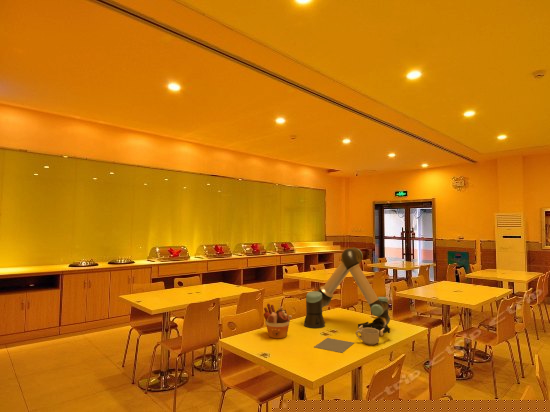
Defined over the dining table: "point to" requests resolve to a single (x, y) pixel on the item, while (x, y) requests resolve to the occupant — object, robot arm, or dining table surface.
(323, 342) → the placemat
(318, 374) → the dining table surface
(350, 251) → the robot arm
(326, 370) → the dining table surface
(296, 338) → the dining table surface
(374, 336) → the teacup
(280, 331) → the bucket of meat
